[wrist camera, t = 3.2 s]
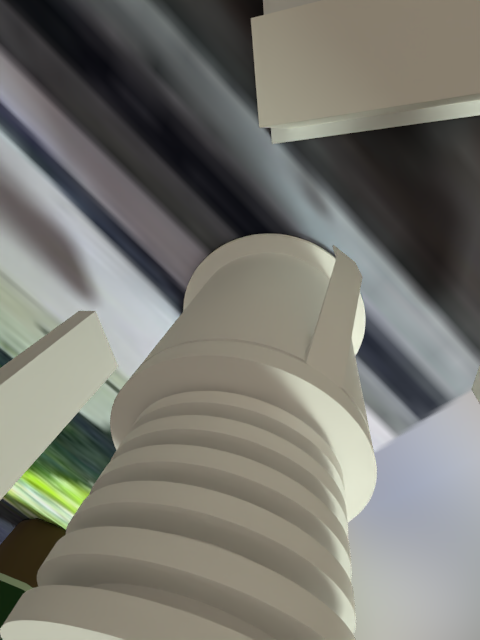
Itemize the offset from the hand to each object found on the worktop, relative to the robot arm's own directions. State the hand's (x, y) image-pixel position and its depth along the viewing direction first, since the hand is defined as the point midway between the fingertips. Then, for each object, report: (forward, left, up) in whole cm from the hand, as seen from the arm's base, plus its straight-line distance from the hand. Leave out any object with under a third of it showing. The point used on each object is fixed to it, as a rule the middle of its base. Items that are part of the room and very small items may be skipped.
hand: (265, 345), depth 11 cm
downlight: (0, 0, -2) cm, 2 cm away
